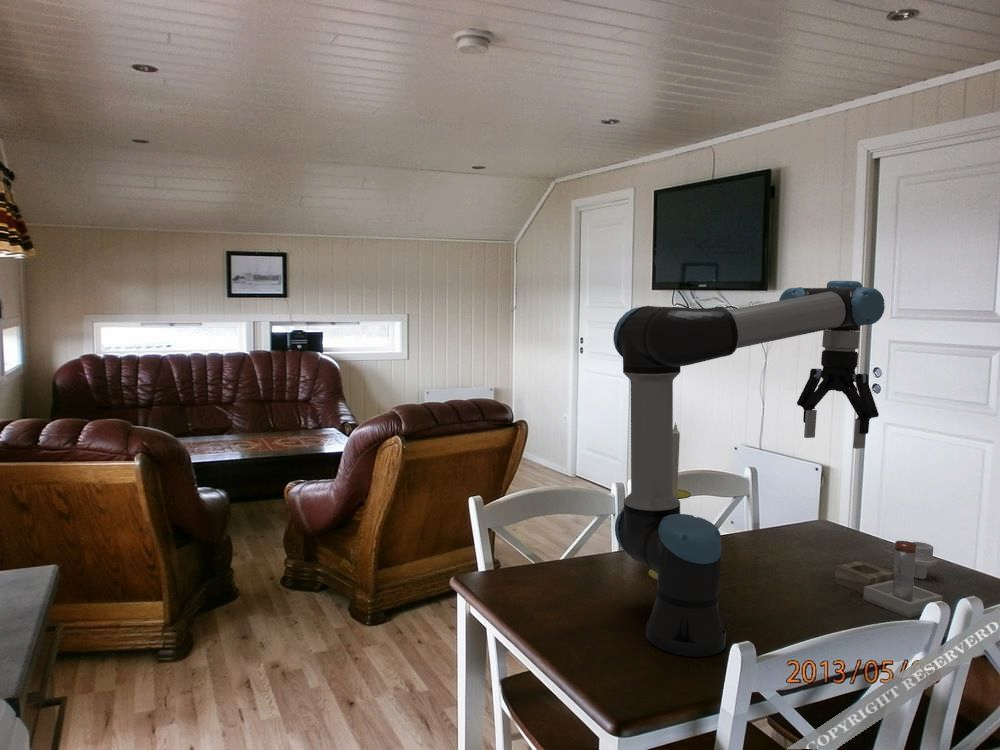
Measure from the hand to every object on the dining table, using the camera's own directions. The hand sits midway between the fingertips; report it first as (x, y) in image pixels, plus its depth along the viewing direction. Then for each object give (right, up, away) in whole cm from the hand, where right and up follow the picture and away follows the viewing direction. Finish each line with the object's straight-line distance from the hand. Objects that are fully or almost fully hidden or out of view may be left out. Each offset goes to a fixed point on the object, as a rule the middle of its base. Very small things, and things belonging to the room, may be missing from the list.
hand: (833, 442), depth 170 cm
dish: (+13, -35, -5) cm, 38 cm away
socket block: (+10, -34, +6) cm, 36 cm away
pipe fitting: (+27, -34, +12) cm, 45 cm away
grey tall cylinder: (+13, -35, -5) cm, 37 cm away
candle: (-35, -33, +10) cm, 49 cm away
